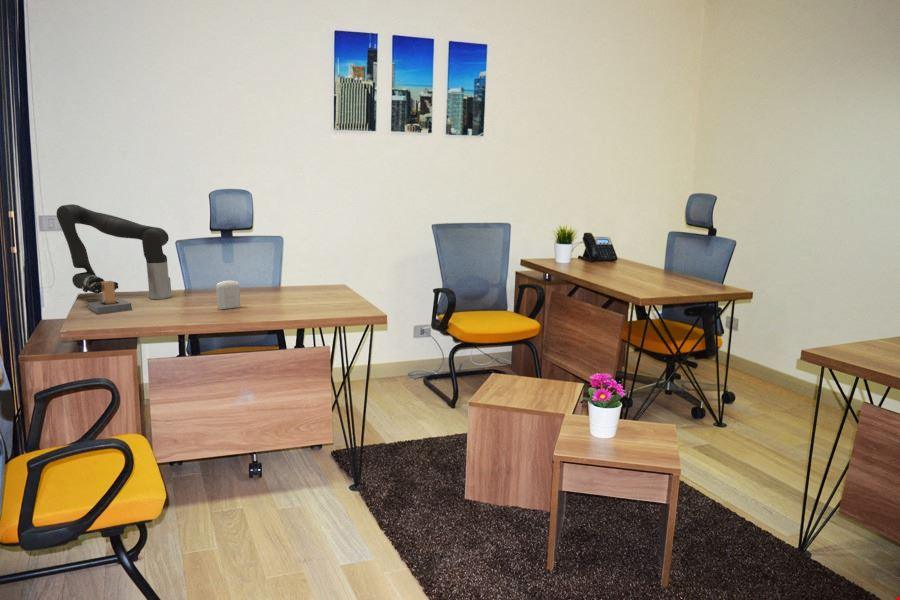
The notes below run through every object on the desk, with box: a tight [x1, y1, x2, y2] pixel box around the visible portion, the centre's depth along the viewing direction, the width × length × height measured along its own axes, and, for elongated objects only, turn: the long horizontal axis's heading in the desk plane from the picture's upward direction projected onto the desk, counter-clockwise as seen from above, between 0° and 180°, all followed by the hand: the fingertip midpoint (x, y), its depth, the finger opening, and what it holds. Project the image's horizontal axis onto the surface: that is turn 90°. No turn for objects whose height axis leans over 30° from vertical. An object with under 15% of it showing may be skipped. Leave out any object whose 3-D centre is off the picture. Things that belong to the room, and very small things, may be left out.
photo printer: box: [215, 280, 241, 310], centre depth 320 cm, size 10×4×12 cm, turn 123°
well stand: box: [87, 298, 133, 315], centre depth 319 cm, size 14×14×3 cm
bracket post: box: [101, 280, 117, 305], centre depth 318 cm, size 4×4×12 cm
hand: (104, 288), depth 322 cm, fingers open, 8 cm apart
